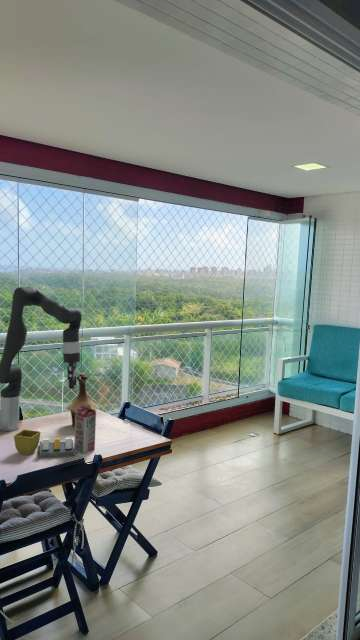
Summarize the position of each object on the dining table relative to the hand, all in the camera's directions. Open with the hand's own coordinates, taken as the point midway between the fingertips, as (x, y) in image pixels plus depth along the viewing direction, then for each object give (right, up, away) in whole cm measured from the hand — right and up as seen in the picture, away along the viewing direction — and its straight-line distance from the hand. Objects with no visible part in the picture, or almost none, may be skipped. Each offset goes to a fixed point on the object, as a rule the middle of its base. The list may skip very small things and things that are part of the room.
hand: (72, 387), depth 224 cm
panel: (-8, -29, +2) cm, 31 cm away
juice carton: (+4, -30, +4) cm, 31 cm away
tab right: (-2, -27, -1) cm, 28 cm away
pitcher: (-4, -26, +40) cm, 48 cm away
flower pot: (-20, -29, -3) cm, 36 cm away
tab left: (-11, -27, -4) cm, 30 cm away
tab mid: (-7, -27, -2) cm, 28 cm away
